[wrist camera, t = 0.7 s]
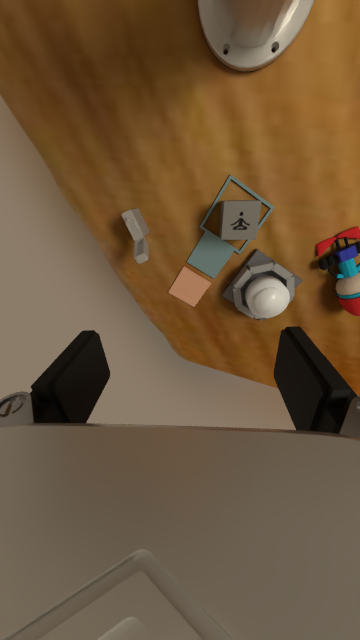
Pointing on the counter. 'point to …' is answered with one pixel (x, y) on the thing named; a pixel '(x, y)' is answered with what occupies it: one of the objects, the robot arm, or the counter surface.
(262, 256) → the dome base
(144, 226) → the lighter
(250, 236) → the dice cube
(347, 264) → the toy figure
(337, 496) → the robot arm
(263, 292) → the dome
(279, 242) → the counter surface
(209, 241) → the sorting mat
